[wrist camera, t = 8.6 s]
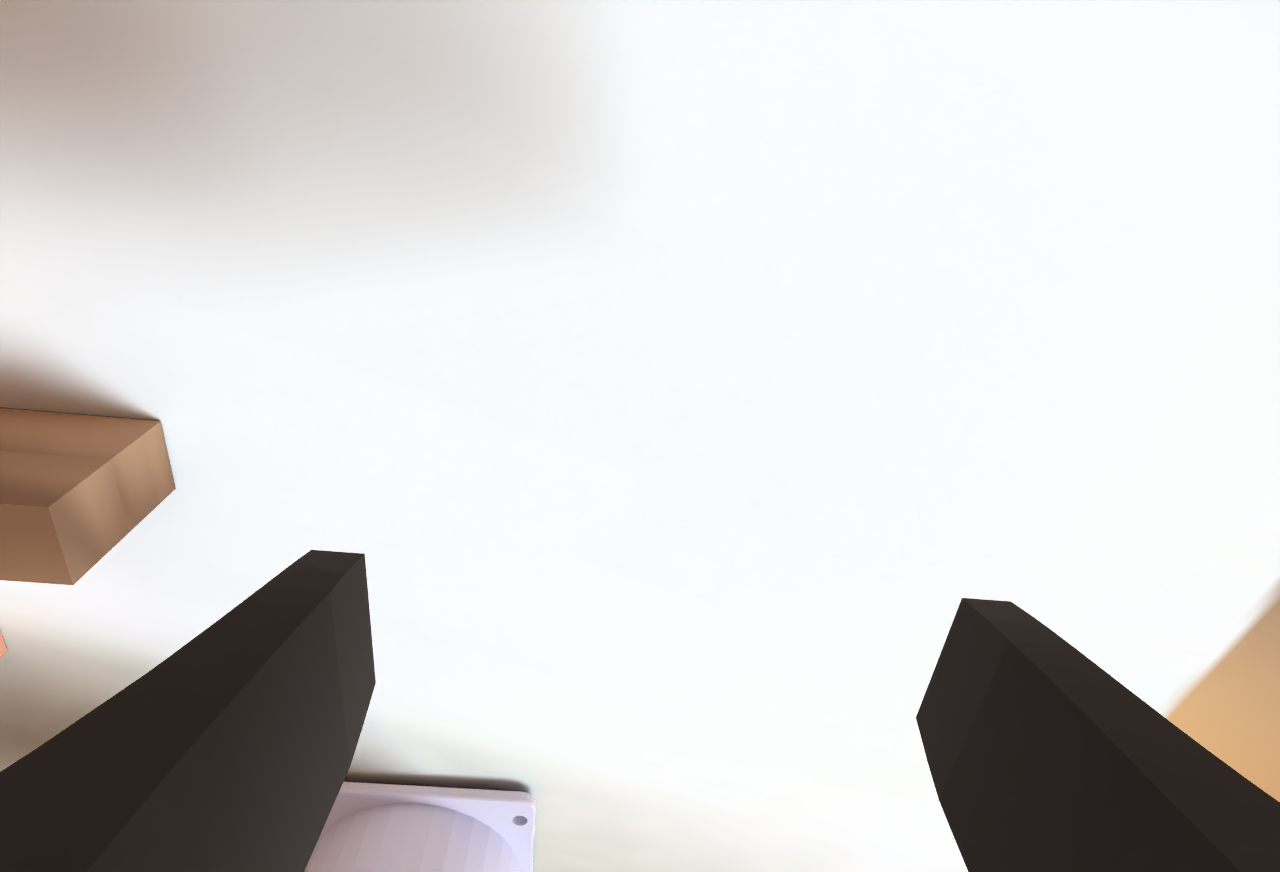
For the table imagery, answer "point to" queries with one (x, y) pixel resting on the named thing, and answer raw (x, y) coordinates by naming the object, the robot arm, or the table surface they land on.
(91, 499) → the walnut notched bar
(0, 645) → the salmon stepped block
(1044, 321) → the table surface
